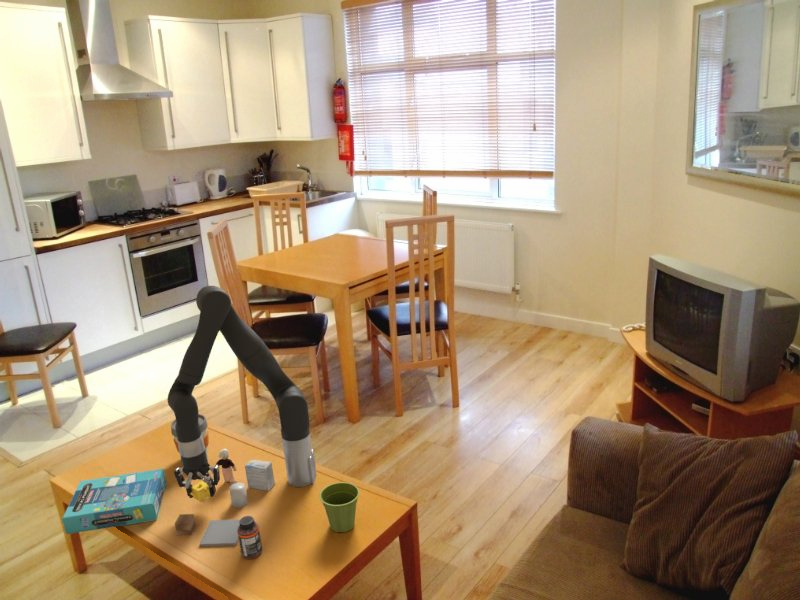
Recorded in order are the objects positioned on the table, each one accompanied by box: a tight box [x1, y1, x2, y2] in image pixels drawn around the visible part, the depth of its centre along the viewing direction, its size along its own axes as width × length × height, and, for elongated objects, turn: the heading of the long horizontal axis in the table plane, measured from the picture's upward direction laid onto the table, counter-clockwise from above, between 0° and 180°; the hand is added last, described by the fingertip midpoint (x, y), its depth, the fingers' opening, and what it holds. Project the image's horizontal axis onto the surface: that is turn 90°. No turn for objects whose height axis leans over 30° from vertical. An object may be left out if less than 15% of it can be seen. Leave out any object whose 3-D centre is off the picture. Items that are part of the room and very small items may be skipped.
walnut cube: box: [174, 513, 197, 537], centre depth 202 cm, size 4×4×4 cm
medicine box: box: [244, 459, 276, 492], centre depth 221 cm, size 8×4×9 cm, turn 71°
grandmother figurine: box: [215, 448, 238, 486], centre depth 224 cm, size 8×4×13 cm, turn 84°
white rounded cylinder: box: [228, 482, 249, 509], centre depth 213 cm, size 5×5×6 cm
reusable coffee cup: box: [170, 413, 210, 459], centre depth 240 cm, size 12×13×15 cm
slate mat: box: [198, 518, 241, 547], centre depth 200 cm, size 11×11×1 cm
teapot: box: [190, 480, 211, 503], centre depth 210 cm, size 8×6×5 cm
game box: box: [61, 468, 167, 535], centre depth 215 cm, size 20×6×27 cm
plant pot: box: [319, 481, 361, 533], centre depth 198 cm, size 12×12×11 cm
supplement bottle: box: [237, 515, 263, 560], centre depth 189 cm, size 6×6×11 cm
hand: (202, 495), depth 210 cm, fingers closed on teapot, 6 cm apart
